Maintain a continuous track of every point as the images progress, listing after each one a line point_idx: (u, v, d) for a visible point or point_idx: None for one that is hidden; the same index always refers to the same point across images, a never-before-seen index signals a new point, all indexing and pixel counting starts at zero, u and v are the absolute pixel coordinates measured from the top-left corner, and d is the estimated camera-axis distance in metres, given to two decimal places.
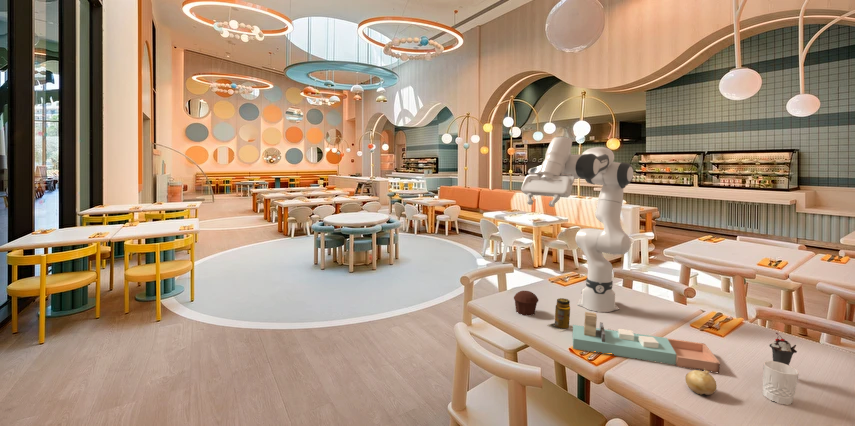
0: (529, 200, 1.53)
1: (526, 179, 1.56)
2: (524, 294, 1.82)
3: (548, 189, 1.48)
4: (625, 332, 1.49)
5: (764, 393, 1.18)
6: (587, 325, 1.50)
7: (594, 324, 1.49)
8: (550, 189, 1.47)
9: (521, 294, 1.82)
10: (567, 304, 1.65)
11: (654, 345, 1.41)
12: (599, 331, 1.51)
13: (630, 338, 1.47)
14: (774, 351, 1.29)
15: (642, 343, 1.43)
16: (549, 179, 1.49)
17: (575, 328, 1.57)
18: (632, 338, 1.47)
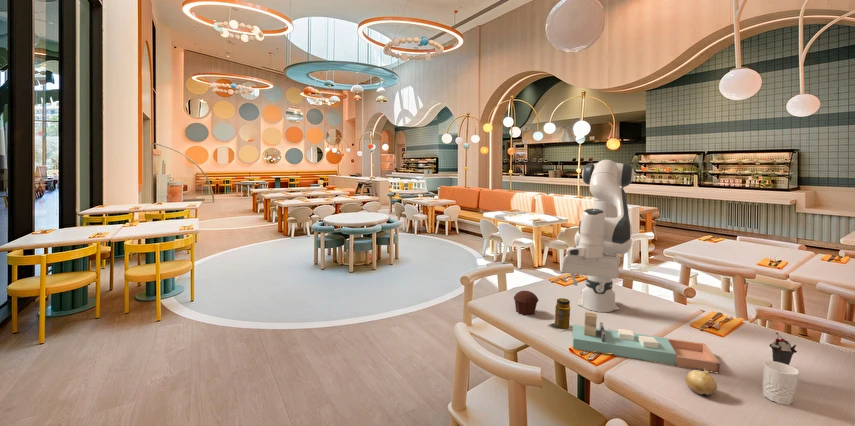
0: (575, 282, 1.50)
1: (566, 260, 1.50)
2: (524, 294, 1.82)
3: (596, 272, 1.46)
4: (625, 332, 1.49)
5: (764, 393, 1.18)
6: (587, 325, 1.50)
7: (594, 324, 1.49)
8: (599, 273, 1.46)
9: (521, 294, 1.82)
10: (567, 304, 1.65)
11: (654, 345, 1.41)
12: (599, 331, 1.51)
13: (630, 338, 1.47)
14: (774, 351, 1.29)
15: (642, 343, 1.43)
16: (594, 262, 1.46)
17: (575, 328, 1.57)
18: (632, 338, 1.47)
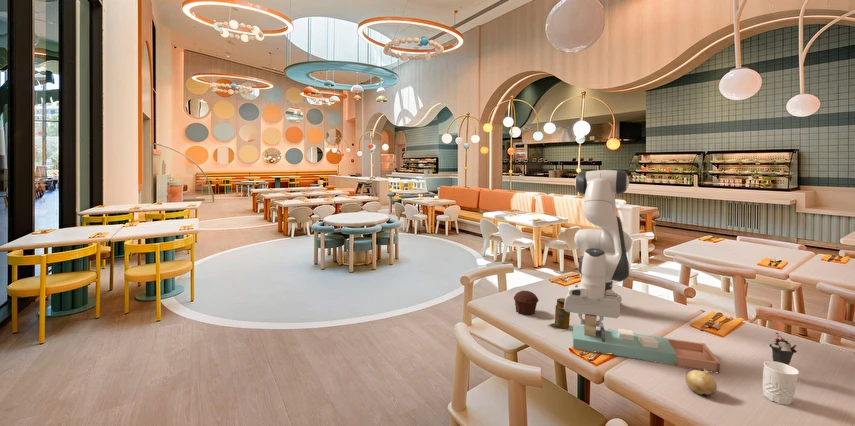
0: (582, 321, 1.52)
1: (568, 300, 1.51)
2: (524, 294, 1.82)
3: (598, 312, 1.49)
4: (625, 332, 1.49)
5: (764, 393, 1.18)
6: (587, 325, 1.50)
7: (594, 324, 1.49)
8: (601, 313, 1.48)
9: (521, 294, 1.82)
10: None
11: (654, 345, 1.41)
12: (599, 331, 1.51)
13: (630, 338, 1.47)
14: (774, 351, 1.29)
15: (642, 343, 1.43)
16: (596, 301, 1.48)
17: (575, 328, 1.57)
18: (632, 338, 1.47)
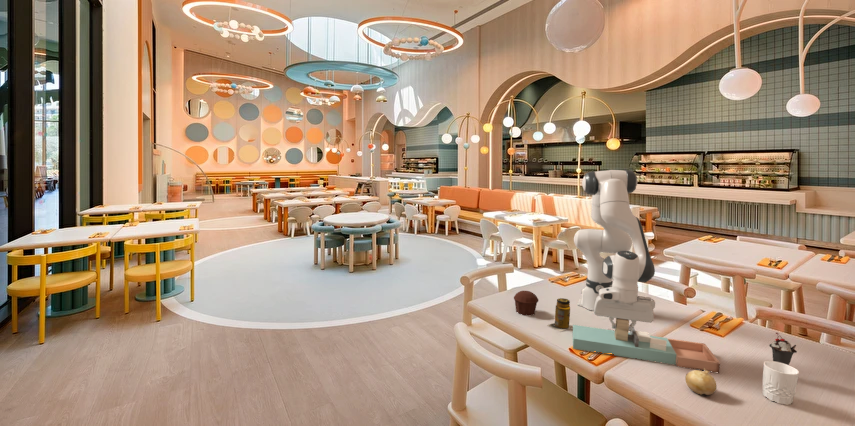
0: (614, 326, 1.48)
1: (599, 304, 1.48)
2: (524, 294, 1.82)
3: (631, 316, 1.45)
4: (641, 334, 1.48)
5: (764, 393, 1.18)
6: (619, 329, 1.47)
7: (626, 328, 1.46)
8: (633, 317, 1.44)
9: (521, 294, 1.82)
10: (567, 304, 1.65)
11: (661, 347, 1.39)
12: (631, 335, 1.47)
13: (647, 340, 1.45)
14: (774, 351, 1.29)
15: (650, 344, 1.42)
16: (628, 305, 1.45)
17: (575, 328, 1.57)
18: (649, 340, 1.45)
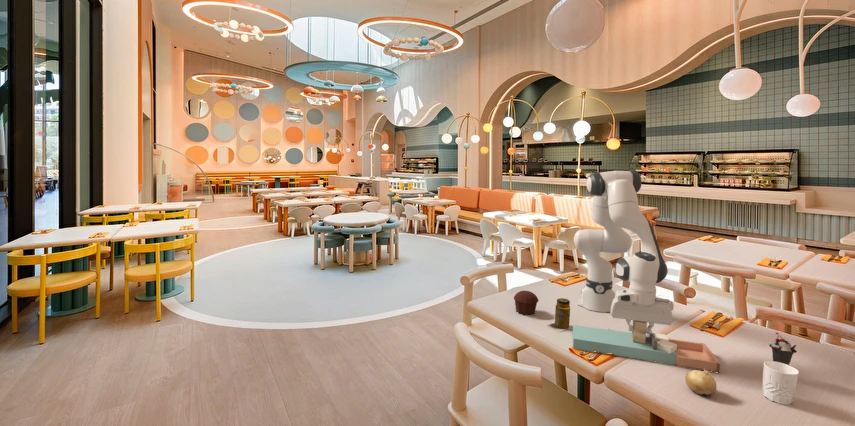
0: (631, 328, 1.46)
1: (616, 306, 1.46)
2: (524, 294, 1.82)
3: (648, 318, 1.43)
4: (659, 336, 1.46)
5: (764, 393, 1.18)
6: (636, 332, 1.45)
7: (644, 331, 1.44)
8: (651, 319, 1.42)
9: (521, 294, 1.82)
10: (567, 304, 1.65)
11: (666, 349, 1.38)
12: (648, 338, 1.45)
13: None
14: (774, 351, 1.29)
15: None
16: (646, 307, 1.43)
17: (575, 328, 1.57)
18: None
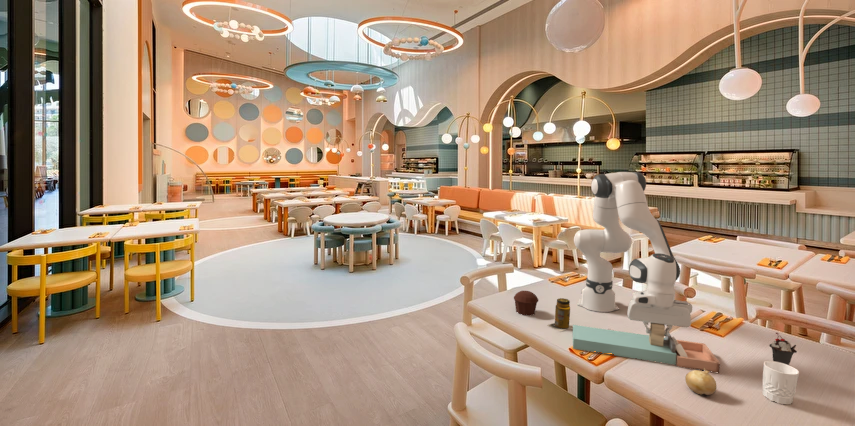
0: (648, 330, 1.44)
1: (634, 308, 1.44)
2: (524, 294, 1.82)
3: (667, 321, 1.41)
4: None
5: (764, 393, 1.18)
6: (654, 334, 1.43)
7: (662, 333, 1.42)
8: (669, 322, 1.41)
9: (521, 294, 1.82)
10: (567, 304, 1.65)
11: (683, 355, 1.36)
12: (667, 341, 1.43)
13: None
14: (774, 351, 1.29)
15: (677, 344, 1.39)
16: (664, 310, 1.41)
17: (575, 328, 1.57)
18: None
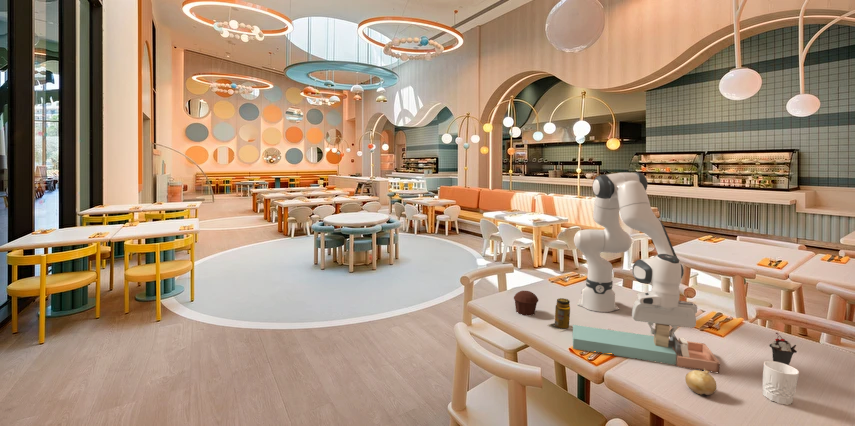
0: (653, 331, 1.44)
1: (638, 308, 1.43)
2: (524, 294, 1.82)
3: (672, 321, 1.40)
4: None
5: (764, 393, 1.18)
6: (658, 335, 1.42)
7: (667, 334, 1.41)
8: (674, 322, 1.40)
9: (521, 294, 1.82)
10: (567, 304, 1.65)
11: None
12: (671, 341, 1.43)
13: None
14: (774, 351, 1.29)
15: (682, 345, 1.38)
16: (669, 310, 1.40)
17: (575, 328, 1.57)
18: None
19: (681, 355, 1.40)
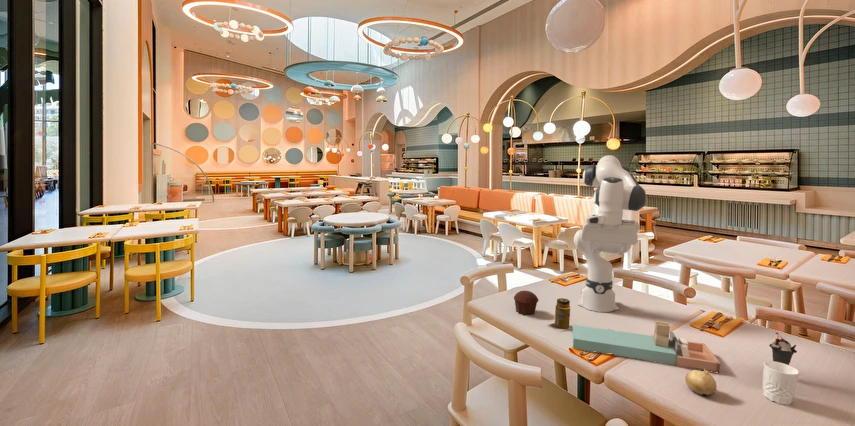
0: (594, 250, 1.54)
1: (586, 229, 1.53)
2: (524, 294, 1.82)
3: (616, 239, 1.50)
4: None
5: (764, 393, 1.18)
6: (658, 335, 1.42)
7: (667, 334, 1.41)
8: (618, 240, 1.50)
9: (521, 294, 1.82)
10: (567, 304, 1.65)
11: None
12: (671, 341, 1.43)
13: None
14: (774, 351, 1.29)
15: (683, 346, 1.38)
16: (613, 229, 1.50)
17: (575, 328, 1.57)
18: None
19: (681, 355, 1.40)
